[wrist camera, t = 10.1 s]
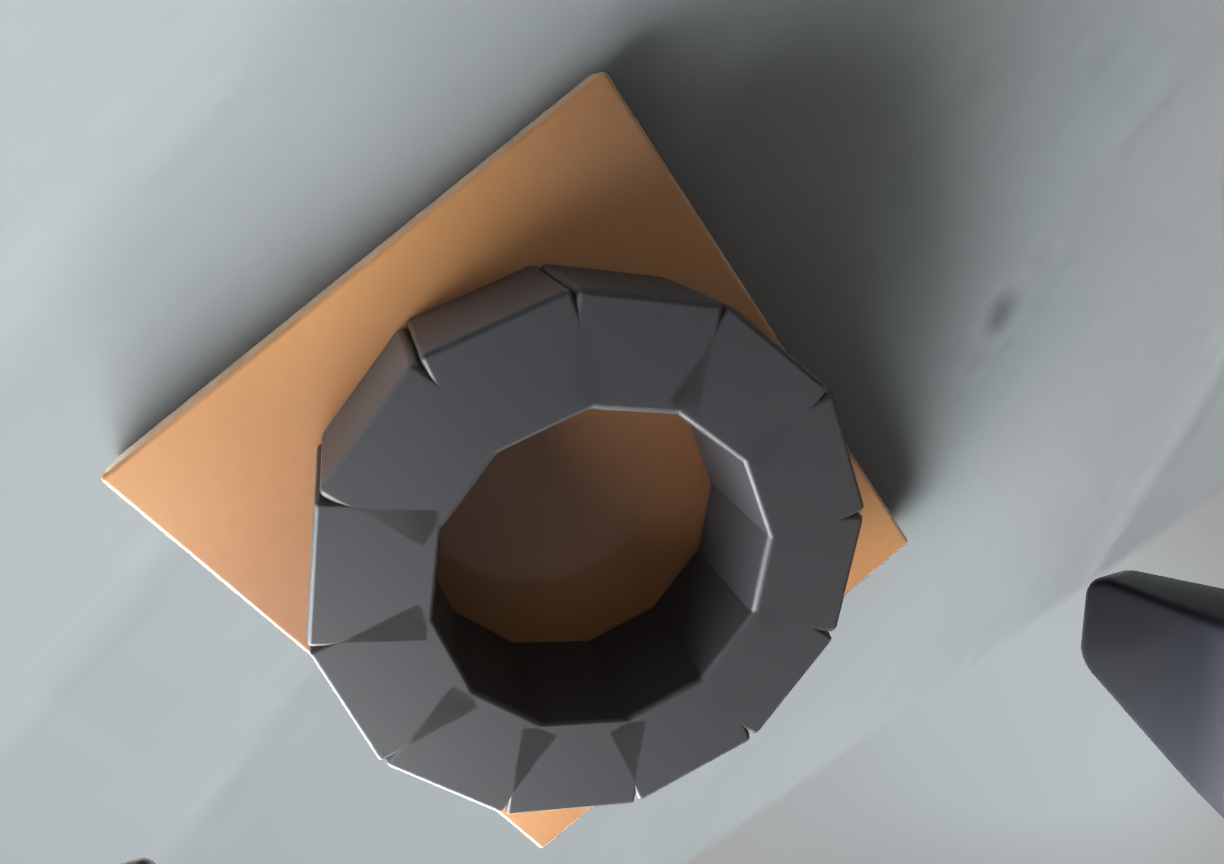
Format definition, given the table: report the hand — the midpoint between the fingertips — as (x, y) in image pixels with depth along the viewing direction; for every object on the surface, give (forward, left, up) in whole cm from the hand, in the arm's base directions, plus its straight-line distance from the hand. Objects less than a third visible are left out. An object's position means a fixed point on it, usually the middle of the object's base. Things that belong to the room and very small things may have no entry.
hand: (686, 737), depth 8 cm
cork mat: (0, 0, -6) cm, 6 cm away
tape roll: (0, 0, -5) cm, 5 cm away
